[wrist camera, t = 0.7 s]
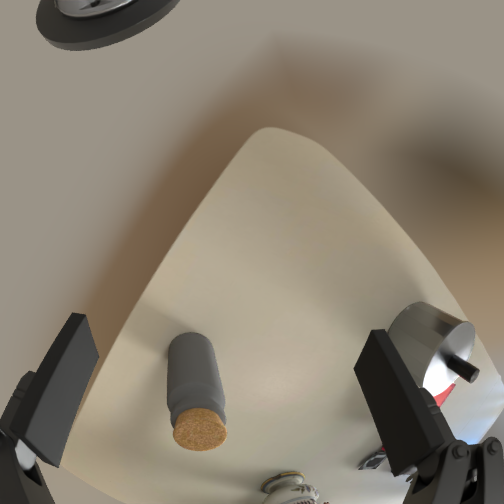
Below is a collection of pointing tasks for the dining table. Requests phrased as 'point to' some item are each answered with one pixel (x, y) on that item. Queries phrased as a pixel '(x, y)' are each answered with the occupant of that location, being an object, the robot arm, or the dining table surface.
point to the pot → (419, 335)
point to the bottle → (195, 393)
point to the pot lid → (451, 359)
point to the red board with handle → (381, 456)
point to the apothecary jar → (289, 490)
